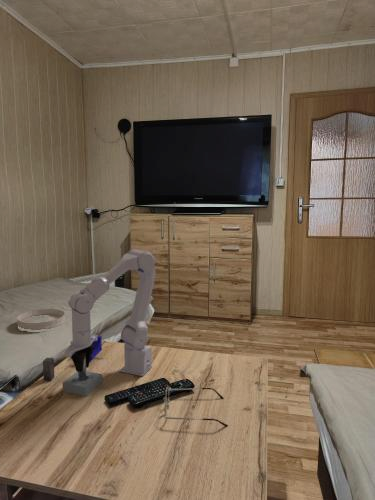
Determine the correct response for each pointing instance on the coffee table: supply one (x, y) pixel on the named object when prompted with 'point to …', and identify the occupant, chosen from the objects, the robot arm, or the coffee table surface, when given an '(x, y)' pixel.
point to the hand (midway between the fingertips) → (82, 369)
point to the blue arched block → (96, 347)
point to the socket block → (82, 383)
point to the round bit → (83, 369)
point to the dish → (54, 321)
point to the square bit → (48, 369)
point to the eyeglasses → (187, 418)
